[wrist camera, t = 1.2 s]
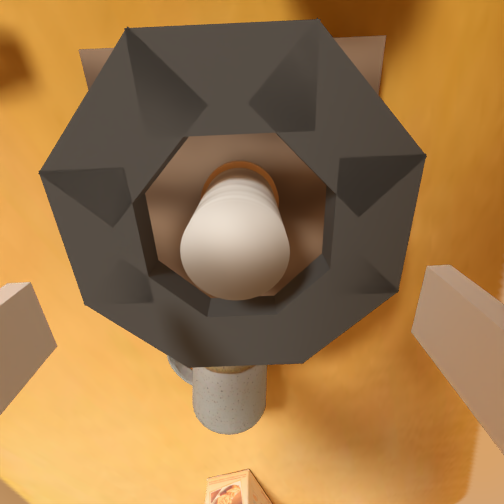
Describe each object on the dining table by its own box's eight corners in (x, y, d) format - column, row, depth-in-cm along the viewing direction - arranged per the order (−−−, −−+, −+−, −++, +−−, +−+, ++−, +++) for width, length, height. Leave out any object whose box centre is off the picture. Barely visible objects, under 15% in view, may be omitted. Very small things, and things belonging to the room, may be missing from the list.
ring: (24, 43, 13) (-11, 32, 11) (428, 25, 13) (457, 11, 11) (119, 349, 21) (107, 371, 19) (372, 339, 21) (384, 360, 19)
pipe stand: (93, 55, 21) (-105, -19, 9) (374, 42, 21) (537, -50, 9) (147, 291, 30) (81, 409, 18) (346, 283, 29) (411, 397, 18)
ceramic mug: (266, 317, 31) (270, 375, 24) (264, 373, 35) (266, 438, 28) (166, 315, 31) (141, 373, 24) (174, 371, 35) (154, 436, 28)
